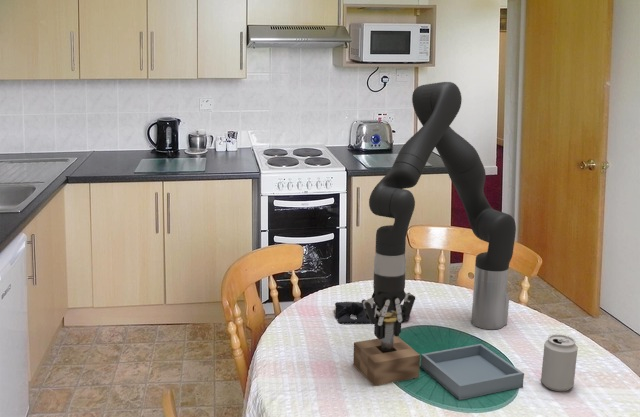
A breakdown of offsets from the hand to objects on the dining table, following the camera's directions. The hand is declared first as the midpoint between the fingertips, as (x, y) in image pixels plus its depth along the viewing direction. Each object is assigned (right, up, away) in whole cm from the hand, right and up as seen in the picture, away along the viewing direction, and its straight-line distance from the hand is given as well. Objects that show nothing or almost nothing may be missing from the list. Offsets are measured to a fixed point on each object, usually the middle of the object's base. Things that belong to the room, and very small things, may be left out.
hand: (387, 336), depth 177 cm
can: (+40, -11, -4) cm, 42 cm away
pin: (0, -7, +2) cm, 7 cm away
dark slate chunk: (-1, -1, +37) cm, 37 cm away
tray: (+20, -10, 0) cm, 22 cm away
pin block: (0, -9, +2) cm, 9 cm away
